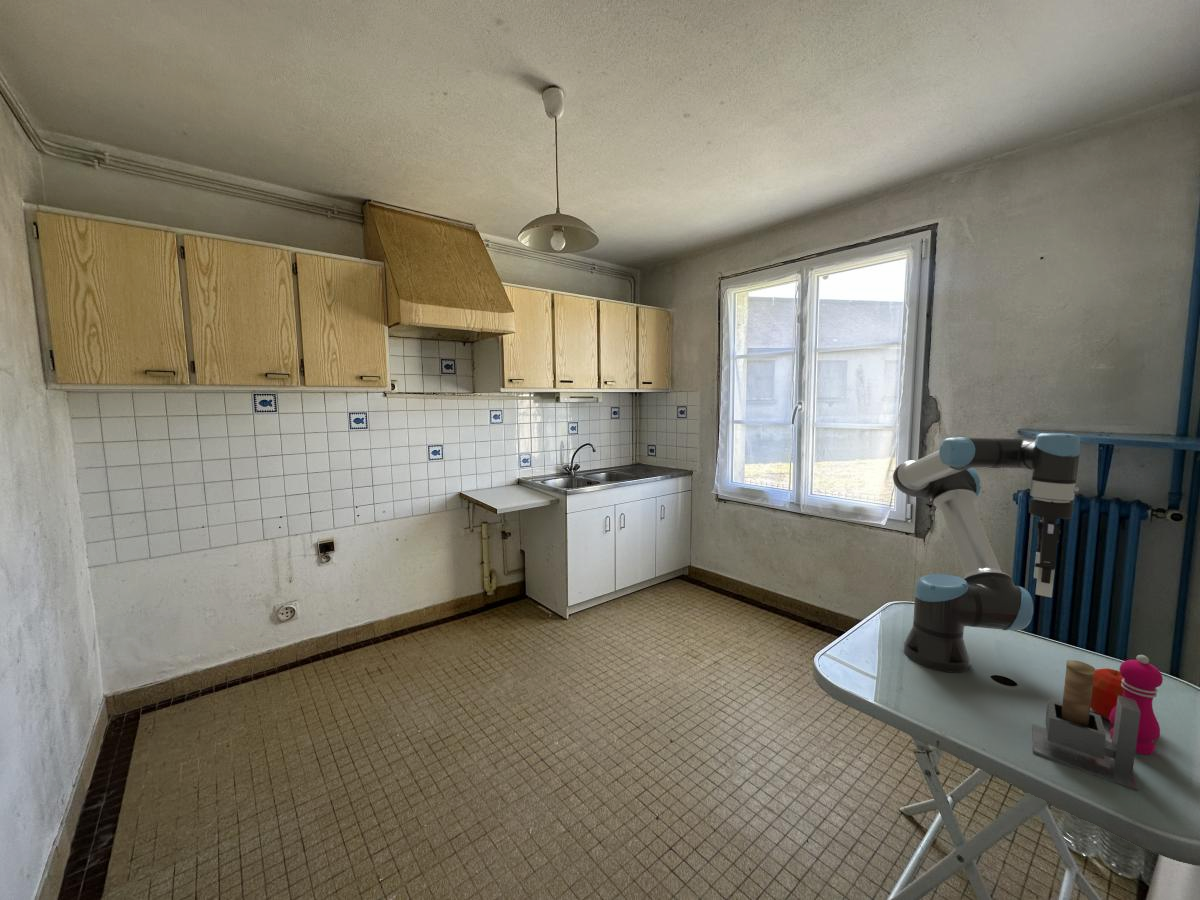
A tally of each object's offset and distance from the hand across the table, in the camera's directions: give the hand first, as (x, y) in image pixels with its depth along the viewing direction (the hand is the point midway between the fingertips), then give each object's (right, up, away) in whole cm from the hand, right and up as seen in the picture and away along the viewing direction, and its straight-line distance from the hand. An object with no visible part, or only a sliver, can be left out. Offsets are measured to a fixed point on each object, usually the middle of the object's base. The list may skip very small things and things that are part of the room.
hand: (1042, 587), depth 114 cm
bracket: (-6, -30, -15) cm, 35 cm away
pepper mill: (+8, -30, -12) cm, 34 cm away
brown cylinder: (-7, -26, -15) cm, 31 cm away
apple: (+13, -30, -3) cm, 32 cm away
